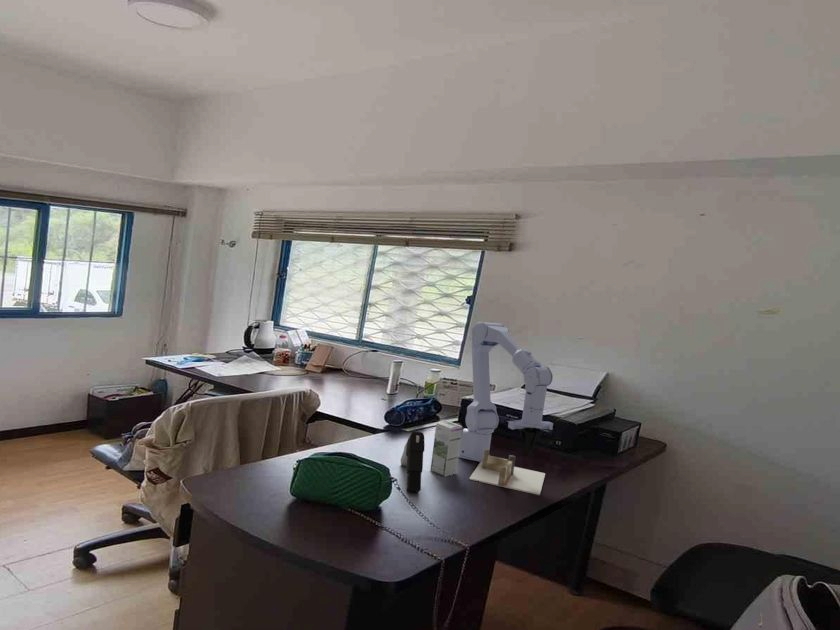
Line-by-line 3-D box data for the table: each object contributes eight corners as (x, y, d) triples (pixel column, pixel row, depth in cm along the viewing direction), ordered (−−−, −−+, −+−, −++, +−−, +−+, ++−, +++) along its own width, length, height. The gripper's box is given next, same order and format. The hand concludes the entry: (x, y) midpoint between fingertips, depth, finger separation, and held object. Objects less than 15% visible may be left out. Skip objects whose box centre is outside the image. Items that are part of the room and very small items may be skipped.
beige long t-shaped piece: (506, 473, 172) (508, 456, 172) (511, 474, 172) (514, 458, 172) (497, 484, 161) (499, 467, 161) (503, 486, 161) (505, 468, 160)
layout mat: (469, 479, 165) (469, 477, 165) (481, 461, 184) (482, 459, 184) (539, 495, 159) (540, 493, 159) (545, 474, 178) (545, 473, 178)
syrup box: (457, 474, 168) (463, 425, 167) (444, 477, 164) (450, 427, 163) (442, 467, 172) (448, 420, 171) (429, 471, 168) (435, 422, 167)
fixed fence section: (481, 468, 175) (483, 451, 175) (482, 466, 177) (484, 449, 176) (512, 475, 172) (515, 457, 172) (513, 473, 174) (516, 456, 174)
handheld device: (407, 488, 146) (410, 430, 152) (396, 500, 165) (400, 448, 172) (422, 490, 146) (425, 431, 153) (410, 501, 166) (413, 449, 172)
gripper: (521, 410, 161) (514, 457, 162) (562, 411, 167) (555, 457, 168) (507, 404, 167) (500, 449, 168) (547, 405, 174) (540, 449, 174)
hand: (526, 452), depth 169 cm, fingers closed
